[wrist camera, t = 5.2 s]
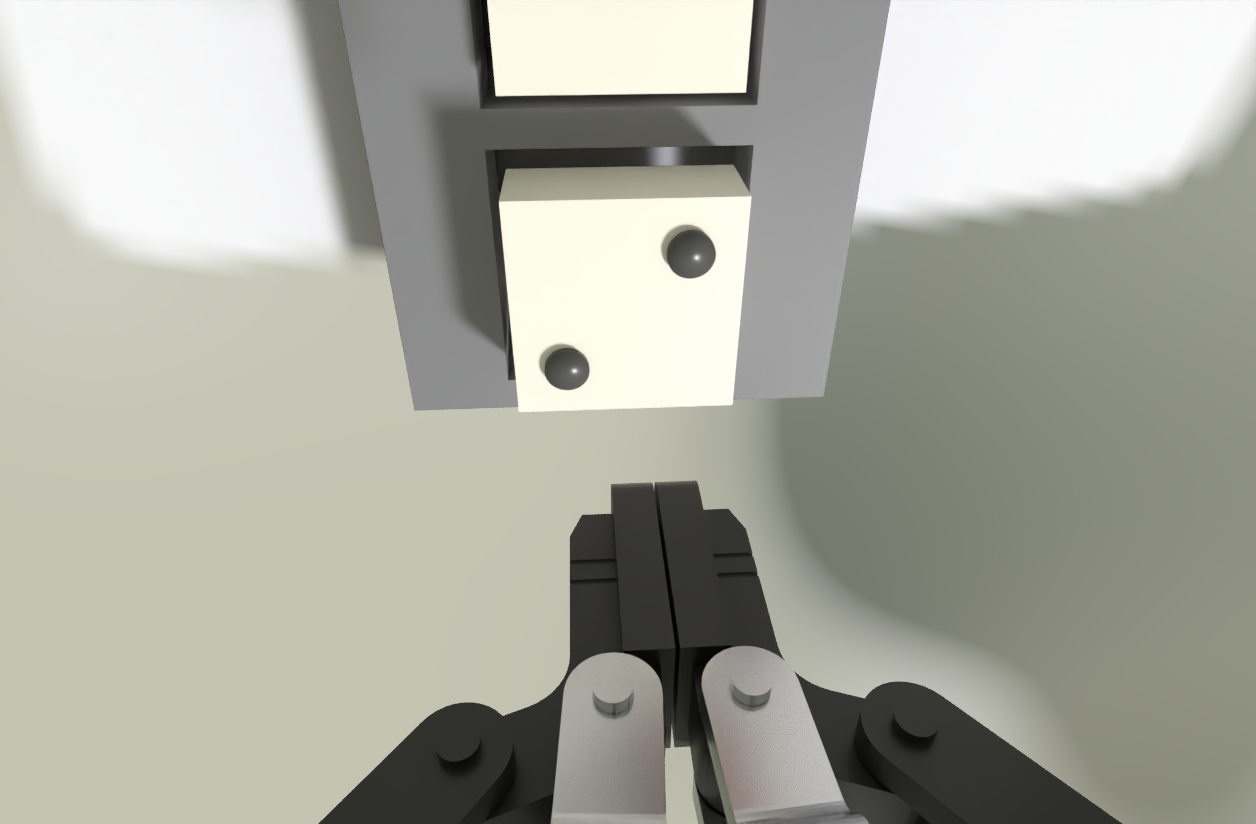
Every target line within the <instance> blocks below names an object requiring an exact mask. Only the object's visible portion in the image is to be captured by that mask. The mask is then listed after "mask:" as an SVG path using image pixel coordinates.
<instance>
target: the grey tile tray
mask: <svg viewBox="0 0 1256 824" xmlns="http://www.w3.org/2000/svg"><path fill="white" fill-rule="evenodd" d="M338 4H339V9H340V15H341V20H342V25H343V31H344V36H345V41H346V47H347V52H348V57H349V63H350V68H351V73H352V79H353V84H354V89H355V95H356V100H357V106H358V111H359V116H360V122H361V127H362V132H363V138H364V143H365V148H366V154H367V159H368V164H369V170H370V175H371V180H372V186H373V191H374V196H375V202H376V207H377V212H378V218H379V223H380V228H381V234H382V239H383V244H384V250H385V255H386V260H387V266H388V271H389V276H390V282H391V287H392V292H393V298H394V303H395V308H396V313H397V319H398V324H399V330H400V335H401V340H402V346H403V351H404V356H405V362H406V367H407V372H408V378H409V383H410V388H411V394H412V399H413V404H414V410H440V409H441V410H442V409H470V408H471V409H472V408H499V407H518V397H517V387H516V376H515V366H514V355H513V345H512V335H511V324H510V314H509V303H508V293H507V282H506V272H505V262H504V251H503V241H502V230H501V220H500V209H499V188H498V178H497V167H496V157H495V150H503V149H561V148H618V147H676V146H734V145H735V152H734V166H735V168H736V170H737V172H738V173H739V175H740V177H741V179H742V180H743V182H744V184H745V186H746V187H747V189H748V191H749V193H750V195H751V196H752V197H751V208H750V219H749V230H748V241H747V252H746V263H745V274H744V285H743V296H742V307H741V318H740V329H739V340H738V350H737V361H736V372H735V383H734V394H733V400H737V399H766V398H795V397H822V396H824V390H825V384H826V378H827V372H828V366H829V360H830V354H831V348H832V342H833V337H834V331H835V325H836V319H837V313H838V306H839V301H840V295H841V289H842V283H843V278H844V271H845V265H846V260H847V254H848V248H849V242H850V236H851V230H852V224H853V219H854V213H855V207H856V201H857V195H858V189H859V183H860V177H861V171H862V165H863V160H864V154H865V148H866V142H867V136H868V130H869V124H870V118H871V112H872V106H873V101H874V95H875V89H876V83H877V77H878V71H879V65H880V59H881V53H882V47H883V42H884V36H885V30H886V24H887V18H888V12H889V6H890V0H753V11H752V24H751V36H750V48H749V61H748V73H747V85H746V93H681V94H609V95H537V96H496V93H495V87H489V83H488V72H487V62H486V51H485V41H484V30H483V20H482V9H481V0H338Z"/></svg>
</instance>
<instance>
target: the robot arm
mask: <svg viewBox="0 0 1256 824" xmlns="http://www.w3.org/2000/svg"><path fill="white" fill-rule="evenodd" d="M671 724H672V730H673V738H674V746H675V747H686V746H690V748H691V754H692V762H693V769H694V779H693V801H694V805H695V810H696V815H697V820H698V824H1122V823H1120V822H1119V821H1118V820H1116V819H1115V818H1113V817H1112V816H1110V815H1109V814H1108V813H1106V812H1105V811H1103V810H1102V809H1101V808H1099V807H1098V806H1096V805H1095V804H1093V803H1092V802H1091V801H1089V800H1088V799H1086V798H1085V797H1083V796H1082V795H1081V794H1079V793H1078V792H1077V791H1075V790H1074V789H1072V788H1071V787H1070V786H1068V785H1067V784H1065V783H1064V782H1062V781H1061V780H1060V779H1058V778H1057V777H1055V776H1054V775H1053V774H1051V773H1050V772H1048V771H1047V770H1045V769H1044V768H1042V767H1041V766H1040V765H1038V764H1037V763H1036V762H1034V761H1033V760H1031V759H1030V758H1028V757H1027V756H1026V755H1024V754H1023V753H1021V752H1020V751H1019V750H1017V749H1016V748H1014V747H1013V746H1012V745H1010V744H1009V743H1007V742H1006V741H1005V740H1003V739H1001V738H1000V737H999V736H997V735H996V734H995V733H993V732H992V731H990V730H989V729H988V728H986V727H985V726H983V725H982V724H980V723H979V722H978V721H976V720H975V719H973V718H972V717H971V716H969V715H967V714H966V713H965V712H963V711H962V710H961V709H959V708H958V707H956V706H955V705H954V704H952V703H951V702H949V701H948V700H946V699H945V698H944V697H942V696H941V695H939V694H938V693H936V692H934V691H933V690H931V689H928V688H926V687H924V686H921V685H918V684H914V683H909V682H889V683H886V684H882V685H880V686H878V687H876V688H875V689H873V690H872V691H871V692H870V693H869V694H868V695H867V696H866V698H865V699H864V698H860V697H856V696H852V695H847V694H843V693H839V692H834V691H830V690H827V689H824V688H821V687H819V686H816V685H814V684H811V683H810V682H808V681H807V680H805V679H803V678H802V677H801V676H799V675H798V674H797V673H795V672H794V671H793V669H792V668H791V667H790V666H789V665H788V664H787V663H786V662H785V660H784V659H783V657H782V655H781V653H780V651H779V648H778V646H777V642H776V638H775V635H774V631H773V627H772V624H771V620H770V616H769V613H768V609H767V605H766V601H765V598H764V594H763V590H762V587H761V583H760V579H759V577H758V576H757V569H756V565H755V561H754V558H753V557H752V550H751V546H750V543H749V539H748V535H747V532H746V529H745V528H744V526H743V525H742V524H741V523H740V522H739V521H738V520H737V518H736V517H735V516H734V515H733V514H732V513H731V511H730V510H729V509H713V510H703V505H702V501H701V496H700V492H699V487H698V483H697V481H678V482H677V481H676V482H655V487H654V490H653V484H652V483H631V484H630V483H629V484H611V514H597V515H596V514H595V515H582V516H581V518H580V520H579V522H578V523H577V525H576V527H575V529H574V530H573V532H572V534H571V536H570V662H569V667H568V670H567V673H566V675H565V677H564V679H563V680H562V682H561V683H560V685H559V686H558V687H557V688H556V689H555V690H554V691H553V692H552V693H551V694H550V695H549V696H547V697H546V698H545V699H543V700H541V701H540V702H538V703H536V704H534V705H532V706H529V707H527V708H524V709H521V710H518V711H516V712H513V713H510V714H508V715H505V716H502V715H501V714H499V713H498V712H497V711H496V710H494V709H492V708H491V707H489V706H486V705H483V704H478V703H458V704H453V705H450V706H446V707H444V708H442V709H440V710H438V711H436V712H434V713H433V714H431V715H430V716H429V717H427V718H426V719H425V720H424V721H423V722H422V723H421V724H419V726H418V727H416V728H415V729H414V731H413V732H411V733H410V734H409V735H408V736H407V737H406V738H405V739H404V740H403V741H402V742H401V743H400V744H399V745H398V746H397V747H396V748H395V749H394V750H393V751H392V752H391V753H390V754H389V755H388V756H387V757H386V758H385V759H384V760H383V761H382V762H381V763H380V764H379V765H378V766H377V767H376V768H375V769H374V770H373V771H372V772H371V773H370V774H369V775H368V776H367V777H366V778H365V779H363V780H362V781H361V782H360V783H359V784H358V785H357V786H356V787H355V788H354V789H353V790H352V791H351V792H350V793H349V794H348V795H347V796H346V797H345V798H344V799H343V800H342V801H341V802H340V803H339V804H338V805H337V806H336V807H335V808H334V809H333V810H332V811H331V812H330V813H329V814H328V815H327V816H326V817H325V818H324V819H323V820H322V821H321V822H320V823H319V824H666V796H665V795H666V794H665V748H670V743H671Z"/></svg>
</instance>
